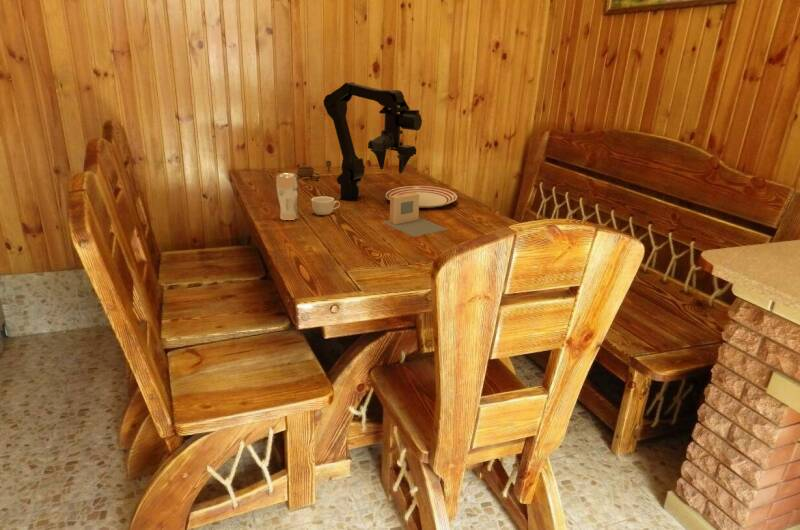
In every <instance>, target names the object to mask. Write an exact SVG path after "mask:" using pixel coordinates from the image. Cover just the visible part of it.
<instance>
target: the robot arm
mask: <svg viewBox="0 0 800 530" xmlns="http://www.w3.org/2000/svg"><path fill="white" fill-rule="evenodd" d="M353 96H355V97H359V98H361V99H366V100H370V101H375V102H376V103H378V104H379V105H380V106H383V107H382V109H380V110H379V111H378V112H379V114H382V115H383V114H384V121H383V122H384V124H383V125H384V126H383V127H384V128H383V129H382V130H381V131H380V132H381V133H380V135H379V136H377V137H376V138H374V139H371V140H369V141H368V143H367V149H369V150H370V152H372V153H373V154H375V157H376V160H377V162H378V166H379V169H380V170H384V168H385V167H384V166H385V161H386V155H387V150H390V151H394V152H397V155H396V157H397V159H398V174H399V175H401V174H402V173H403V172H404V171H405V168H406V166H407V164H408V162H409V161H410V159H411V158H412V157H414V155H417V148H416V146H415V145H409V144H406V145H403V142H402V141H401V134H403V131H404V130H410V131H419V130H420V129H421V126H422V123H423V119H422V116H421V114H420V110H419V109H411V108H410V107H409V104H408V103H407V101H406V100H405V95H404V94H403V91H401V90H399V89H379V88H375V87H372V86H367V85H362V84H357V83H355V82H345V83H343V84H342V85H341V86H340V87H338V88H337V89H335V90H333V92H331V93H330V94H326V96H325V97H324V99H323V105H324V108H325V111H326V113H327V115H328V116H329V117H330V119H332V122H333V124H334V125H333V126H334V129H335V132H336V136H337V141H338V145H339V147H340V152H341V155H342V161H341V172H342V173H340V175H338V176H337V178H336V182H337V184H338V185H340V197H339V200H341V201H342V200H343V201H357V200H358V199H359V197H360V196H361V195H360V185H359V182H360V183H361V180H362V177H363V176H364V175H365V169H366V166H365V165H364V164H365V163H364V159H363V158H362V157H360V158H359V157H358V155H357V154H356V152H355V147H354V144H353V139H352V136H351V131H350V129H349V128H350V127H349V124H348V120H347V113H348V102H349V101H350V100H351V99H352V98H353ZM401 129H403V130H401Z"/></svg>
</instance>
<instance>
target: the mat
mask: <svg viewBox="0 0 800 530" xmlns="http://www.w3.org/2000/svg"><path fill="white" fill-rule="evenodd" d="M382 223H383V224H385V225H387V226H389V227H392V228H394V229H396V230H399V231H400V232H402V233H404V234H407V235H408V236H412V237H413V238H415V237H420V236H424V235H428V234H429V235H430V234H433V233H438V232H443V231H448V230H449V229H448V228H446V227H444V226H441V225H439V224H436V223H433V222H432V221H429V220H428V219H424V218H422V217H419V216H418V220H415V221H409V222H404V223H399V224H392V223H390V219H389V220H386V221H382Z"/></svg>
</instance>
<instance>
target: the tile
mask: <svg viewBox="0 0 800 530" xmlns="http://www.w3.org/2000/svg"><path fill="white" fill-rule="evenodd" d="M419 209H420V208H419V194H418V193H415V192H413V193H407V194H401V195H394V196H390V200H389V220H390V223H392V224H399V223H404V222H409V221H415V220H418V217H419V212H420V210H419Z"/></svg>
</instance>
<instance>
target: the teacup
mask: <svg viewBox="0 0 800 530" xmlns="http://www.w3.org/2000/svg"><path fill="white" fill-rule="evenodd" d="M310 201H311V207H312V211H313V212H314V214H315V215H317V216H319V215H324V216H328V215H331V214H332V213H333V211H334V210H336V209H338V208H340V206H341V203H340V201H339V200H335V198H334V197H331V196H327V195H326V196H324V195H323V196H315V197H312V198H311V200H310ZM337 203H338V206H335V204H337Z"/></svg>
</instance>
